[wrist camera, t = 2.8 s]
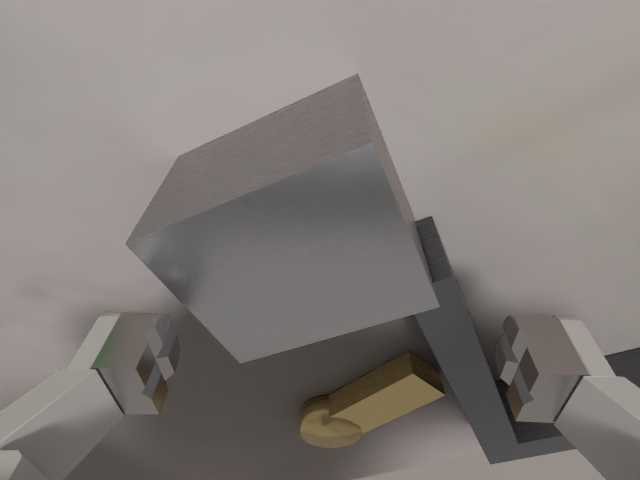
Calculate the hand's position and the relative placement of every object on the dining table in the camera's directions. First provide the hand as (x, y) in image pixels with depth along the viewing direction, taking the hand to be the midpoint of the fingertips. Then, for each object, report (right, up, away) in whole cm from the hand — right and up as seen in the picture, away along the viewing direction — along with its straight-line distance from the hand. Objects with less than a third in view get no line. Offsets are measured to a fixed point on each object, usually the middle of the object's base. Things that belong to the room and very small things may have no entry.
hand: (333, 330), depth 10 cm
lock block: (-1, +4, +3) cm, 5 cm away
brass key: (+2, -5, +10) cm, 12 cm away
